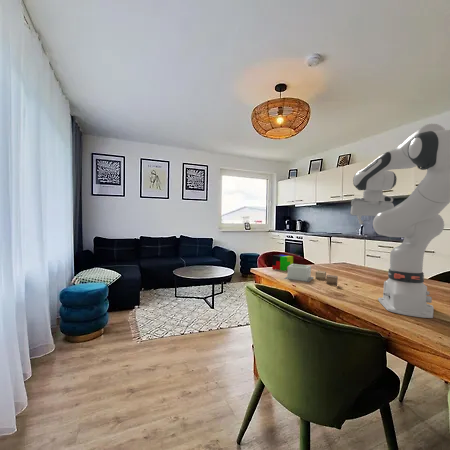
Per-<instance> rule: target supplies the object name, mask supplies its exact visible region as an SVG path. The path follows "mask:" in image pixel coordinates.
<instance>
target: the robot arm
mask: <svg viewBox="0 0 450 450" xmlns="http://www.w3.org/2000/svg"><path fill="white" fill-rule="evenodd" d="M415 167H417V169H418V170H421V171H426V174H425V176H424V177H423V179H422V180H421V181H419V183H418V185H417V186H416V187H415V188H414V190H413V191H412V192H411V193H410V195H408V197H407V198H406V199H404V200H403V201H402V202H400V203H398V204H397V205H394V203H393V201H394V198H393V197H392V196H388V195H384V193H383V191H389V190H392V189H393V188H395V186H396V184H397V180H398V179H397V175H396V173H395V172H394V171H393V170H404V169H405V170H406V169H412V168H415ZM352 182H353V183H352V184H353V186H354V187H355V188H356V190H358V191H363V195H362V197H359V198H358V197H354V198H352V199H351V202H350V205H351V207H350V212H349V213H350V215H351V216H357V219H358V221H359V222H358V223H359V225H364V220H362V216H365V217H366V216H367V217H374V218H373V220H372V227H373V230H374V231H375V233H376V234H377V235H379V236H384V237H388V238H403V241H402V243H401V244H399V245H398V246H395V247H394V248H393V249H391V251H390V253H389V254H390V255H389V269H388V272H387V274H388V275H387V276H388V278H387V279H386V280H385V281H383V293H382V297H378V299H377V300H378V302H379V303H380V305H382V306H383V307H384V309H386V310H387V311H388V312H392V313H395V314H397V315H398V314H399V315H404V316H409V317H415V318H423V319H424V318H425V319H433V318H434V305H432V302H433V301H432V300H433V298H432V296H430V291H428V286H427V285H426V284H424V281H425V275H424V274H425V273H424V272H423V265H424V256H425V251H426V249H427V248H428V246H429V244H430V243H431V242H432V240H433V239H435V238H436V237H439V236H440V235H441V233H443V230H444V229H445V221H444V219H443V217H442V216H441V215H440V213H441V212H442V211H443V210H444V209H445V208H446V207H447V206H448V205H449V204H450V129H445V128H444V126H442V125H441V124H438V123H427V124H423V126H421V127H419V128H418V129H417V130H415V131H414V132H413V133H411V134H410V135H409V136H408V137H406V138H405V140H404V141H403V142H402V143H399V145H398V146H396V147H394V148H392V149H390V150H388V151H386V152H384V153H382V154H381V155H379V156H378V157H376V158H375V159H373V161H372V162H370V163H369V164H367V166H365V167H364V168H362V169H360V170H357V172H356V173H355V174H354V176H353V179H352ZM429 303H430V304H429Z"/></svg>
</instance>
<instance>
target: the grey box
mask: <svg viewBox="0 0 450 450" xmlns="http://www.w3.org/2000/svg"><path fill="white" fill-rule="evenodd" d="M286 275H287V276H286V277H287V279H286V280H290V279H295V280H294V281H297V280H303V281H302V282H305V281H307V280H309V279H310V278H311V277H312V276H311V275H312V265H308V264H298V263H293V264H291V265H289V266H288V270H287V274H286Z"/></svg>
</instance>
